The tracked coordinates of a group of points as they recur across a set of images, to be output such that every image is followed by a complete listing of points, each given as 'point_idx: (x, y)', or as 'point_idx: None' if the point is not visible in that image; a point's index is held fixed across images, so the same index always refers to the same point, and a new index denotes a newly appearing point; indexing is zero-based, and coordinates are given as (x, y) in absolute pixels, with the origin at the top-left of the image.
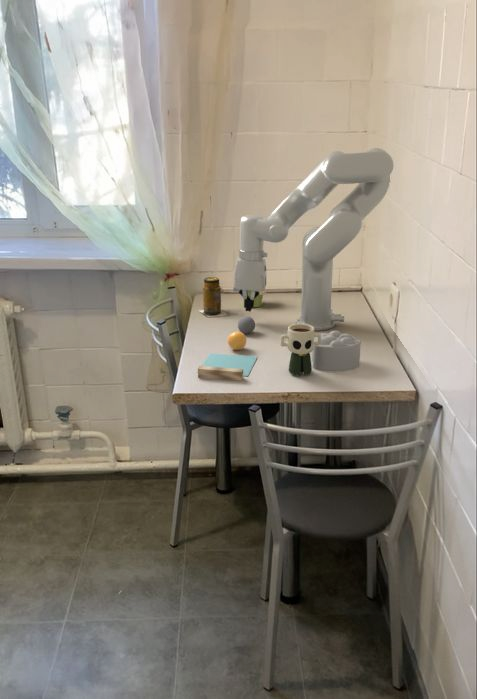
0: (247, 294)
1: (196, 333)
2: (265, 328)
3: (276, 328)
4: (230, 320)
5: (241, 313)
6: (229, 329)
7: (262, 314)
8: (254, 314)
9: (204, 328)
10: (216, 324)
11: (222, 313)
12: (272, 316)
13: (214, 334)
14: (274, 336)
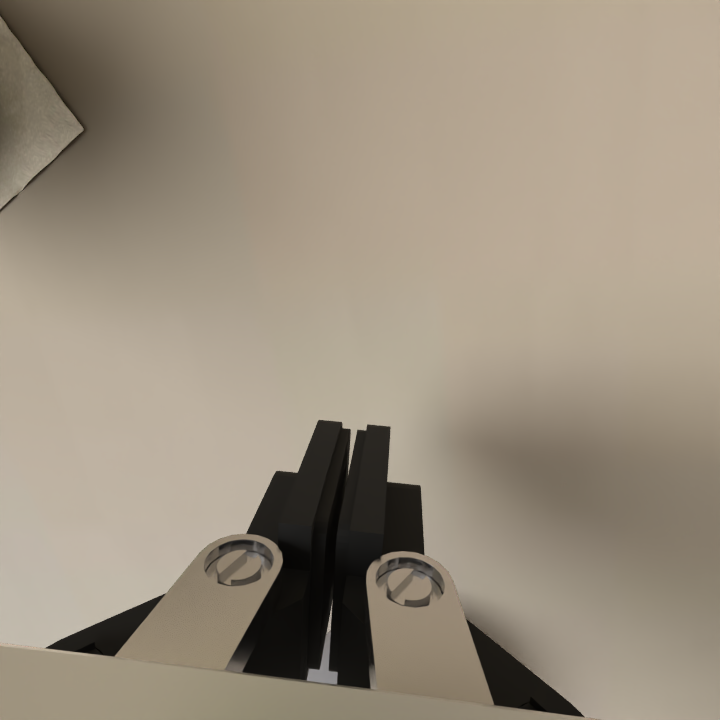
0: (258, 618)
1: (11, 634)
2: (552, 530)
3: (668, 528)
4: (170, 325)
5: (230, 46)
6: None
7: (510, 48)
8: (401, 65)
9: (23, 539)
10: (80, 445)
11: (14, 91)
12: (651, 121)
13: None
14: (632, 702)
